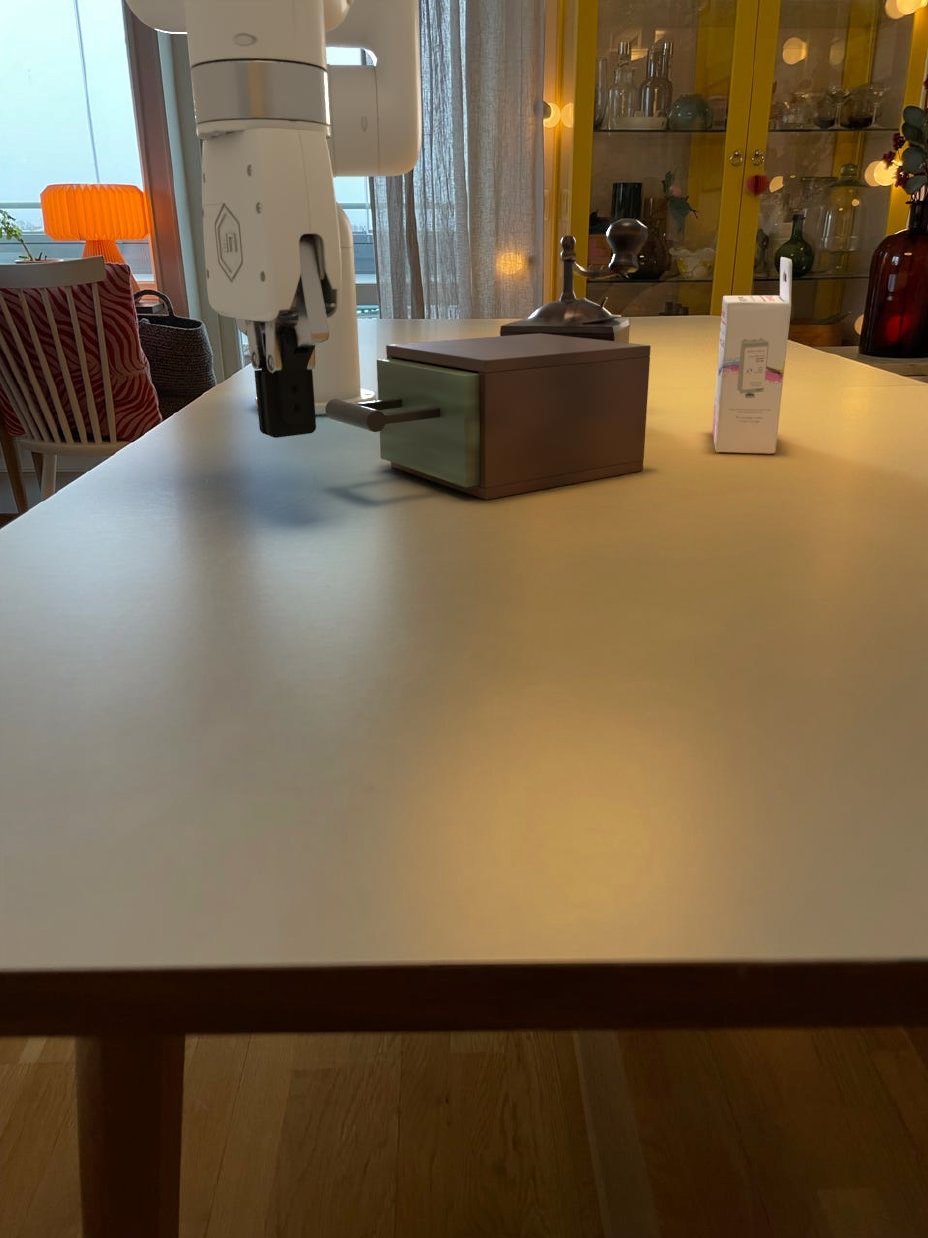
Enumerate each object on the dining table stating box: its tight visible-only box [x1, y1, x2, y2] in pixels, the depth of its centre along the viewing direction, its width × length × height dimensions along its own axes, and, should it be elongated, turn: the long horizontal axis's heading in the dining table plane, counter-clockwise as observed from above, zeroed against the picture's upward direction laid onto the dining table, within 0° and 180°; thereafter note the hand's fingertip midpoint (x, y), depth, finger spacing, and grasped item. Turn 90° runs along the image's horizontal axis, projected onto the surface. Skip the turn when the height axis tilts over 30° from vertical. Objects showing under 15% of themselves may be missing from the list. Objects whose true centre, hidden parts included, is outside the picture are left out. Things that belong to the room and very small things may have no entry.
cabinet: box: [385, 333, 651, 501], centre depth 70 cm, size 15×13×9 cm
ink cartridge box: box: [711, 256, 793, 455], centre depth 76 cm, size 9×5×15 cm, turn 168°
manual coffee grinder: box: [499, 217, 649, 343], centre depth 87 cm, size 16×11×18 cm
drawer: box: [325, 358, 480, 487], centre depth 67 cm, size 19×11×7 cm, turn 124°
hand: (288, 432), depth 60 cm, fingers closed
